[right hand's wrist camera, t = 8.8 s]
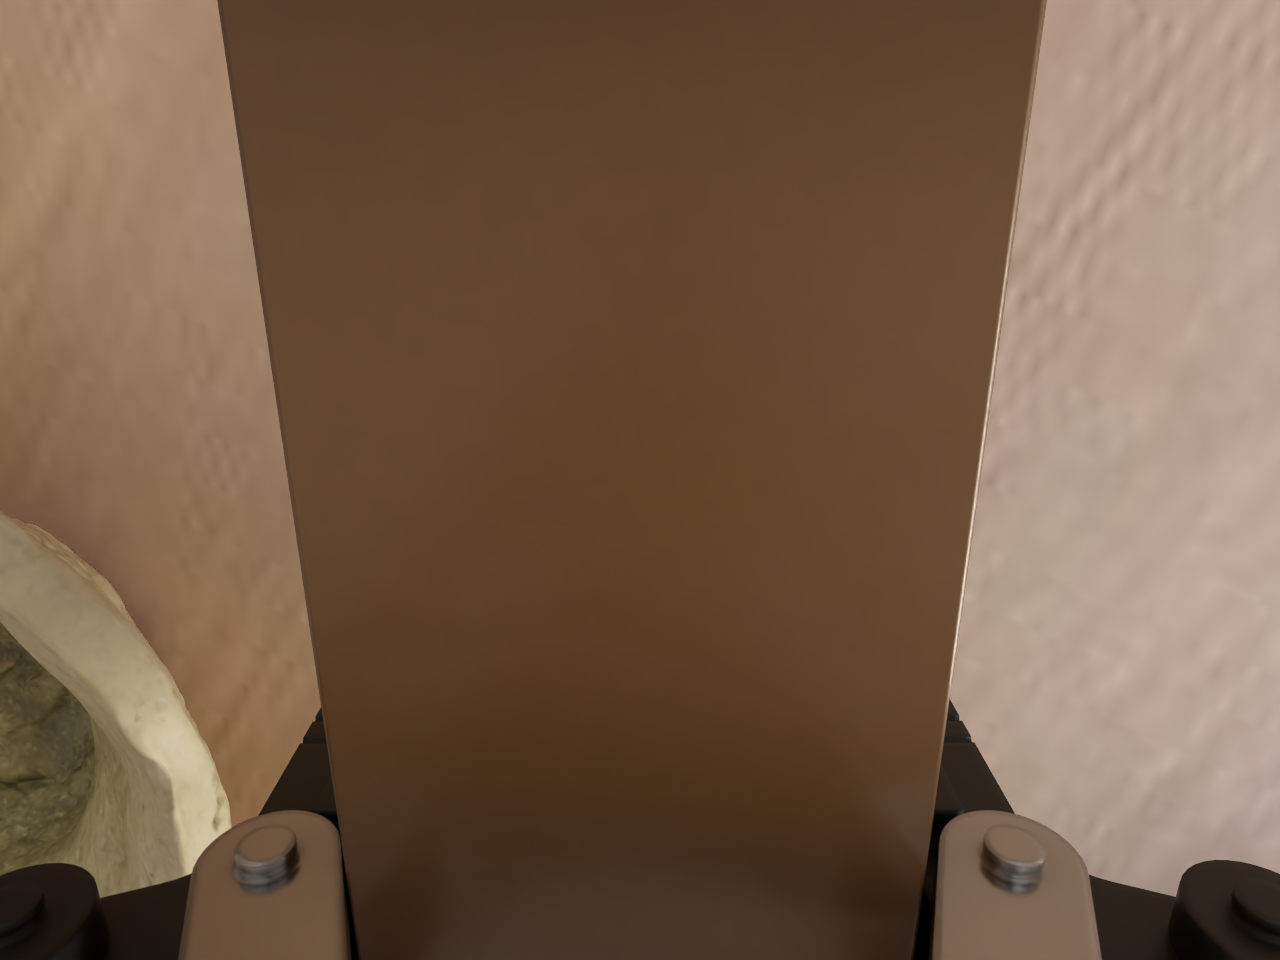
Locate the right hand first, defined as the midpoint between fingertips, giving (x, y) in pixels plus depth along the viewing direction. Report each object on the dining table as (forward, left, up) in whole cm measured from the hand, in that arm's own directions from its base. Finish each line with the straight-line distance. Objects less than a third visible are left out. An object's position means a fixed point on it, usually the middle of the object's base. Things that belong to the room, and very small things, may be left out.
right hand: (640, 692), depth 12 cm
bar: (+9, 0, -3) cm, 10 cm away
